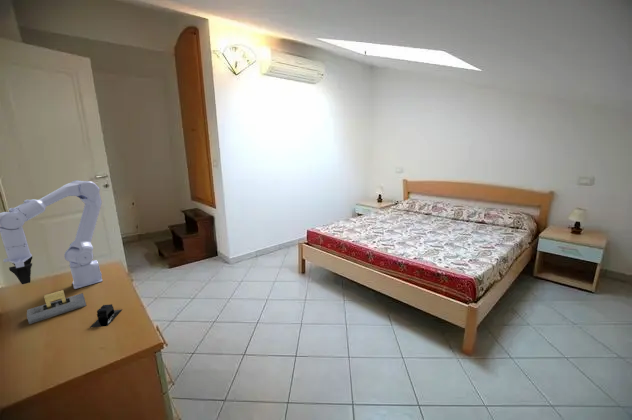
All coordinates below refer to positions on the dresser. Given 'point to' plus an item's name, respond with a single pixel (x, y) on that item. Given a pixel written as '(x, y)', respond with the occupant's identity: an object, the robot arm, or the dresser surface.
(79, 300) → the rail
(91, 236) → the robot arm
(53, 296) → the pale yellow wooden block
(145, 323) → the dresser surface
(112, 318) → the black mounted block
